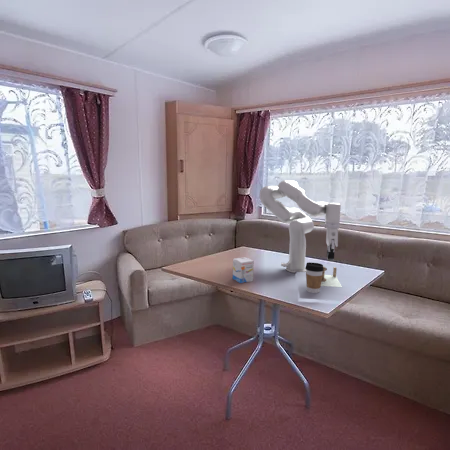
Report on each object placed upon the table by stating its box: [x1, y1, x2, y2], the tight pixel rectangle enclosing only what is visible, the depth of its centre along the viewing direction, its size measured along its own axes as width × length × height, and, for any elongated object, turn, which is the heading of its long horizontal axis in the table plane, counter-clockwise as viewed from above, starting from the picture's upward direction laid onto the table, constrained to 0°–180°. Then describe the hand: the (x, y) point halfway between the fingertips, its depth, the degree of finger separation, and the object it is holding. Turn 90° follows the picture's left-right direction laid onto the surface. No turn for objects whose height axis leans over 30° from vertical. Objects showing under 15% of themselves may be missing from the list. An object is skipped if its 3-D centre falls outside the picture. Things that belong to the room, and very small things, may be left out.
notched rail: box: [324, 266, 338, 277], centre depth 173 cm, size 11×2×5 cm, turn 80°
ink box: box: [232, 256, 254, 284], centre depth 169 cm, size 9×8×12 cm
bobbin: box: [321, 266, 328, 282], centre depth 166 cm, size 6×6×6 cm
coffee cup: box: [305, 261, 324, 294], centre depth 150 cm, size 8×8×15 cm
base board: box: [321, 274, 343, 288], centre depth 166 cm, size 12×19×2 cm, turn 170°
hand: (330, 257), depth 172 cm, fingers closed on peg, 3 cm apart
